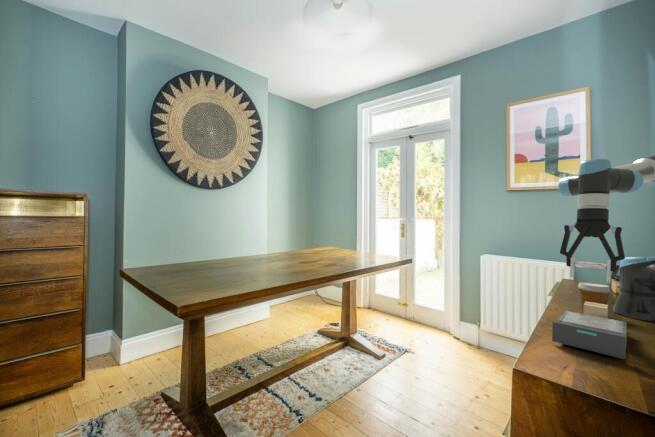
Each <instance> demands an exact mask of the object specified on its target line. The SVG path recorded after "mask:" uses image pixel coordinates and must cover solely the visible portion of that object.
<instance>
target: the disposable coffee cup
mask: <svg viewBox="0 0 655 437" xmlns="http://www.w3.org/2000/svg"><path fill="white" fill-rule="evenodd" d="M577 288H578V290H579V297H580V304H581V310H582V311H581V312H582V314H584V303H585V301H586V302H592V303H598V304H605V305H608V301H609V296H610V295H609V294H610V293H611V291H612V289H611V288H610V286H609V285H607V284H603V283H597V282H591V281H580V282H579V283H578V285H577Z"/></svg>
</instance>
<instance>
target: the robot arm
mask: <svg viewBox="0 0 655 437" xmlns="http://www.w3.org/2000/svg"><path fill="white" fill-rule="evenodd" d="M611 163H612V162H611V160H610V159H607V158H593V159H586V160H583V161H581V162H580V163H579V168H578V173H577V174H576V175H569V176H564V177H562V178H561V179H560V180H559V182H558V184H557V185H558V191H559V193H560V194H561V195H563V196H566V197H568V196H569V197H575V196H577V205H576V206H577V207H578V208H577V210H576V222H575V223H574V224H571V225H569V224H566V225H563V226H564V227H563V228H564V234H563V239H562V241H561V247H560V251H559V254H560V255H562V256H565V257H566V263H565V264H566V266H567V267H569V269H570V270H569V271H570V272H569V278H575V271H576V270H575V269H576V267H574V261H576V256H573V255H574V253H575V252H576V250H577V249H578V248H579V246H580V244H581V243H582V241H583V240H584V239H585V238H591V237H592V238H598V239H599V240H600V242H601V244H602V246H603V248H604V250H605V252H606V254H607V255H608V258H609V259H610V260H609V259H608V260H606V264H607V270H606V279H605V280H606V281H605V282H606V283H611V276H612V274H611V273H612V272H613V273H615V272H616V271H617V262H618V261H619V267H618V268H619V294H618V296H617V298H616V300H615V303H614V304H613V309H612V310H613V313H615V312H616V313H615V314H617V313H618V314H617V315H620V314H621V315H620V316H623V315H624V316H623V317H626V318H631V319H636V320H640V321H641V320H642V321H646V320H647V321H648V322H654V321H655V256H625V255H626V254H625V251H624V244H623V241H622V236H621V233H622V231H623V228H622V227H621V226H613V225H611V224H610V223H609V222H610V221H609V218H610V215H609V214H610V213H609V211H610V210H609V209H608V207H610V194H611V193H613V194H614V193H620V194H626V193H627V194H629V193H634V192H637V191H638V190H639V189H640V188H642V186H643V184H649V183H653V182H655V154H654V155H651V156H648V157H644V158H640V159H639V158H638V159H637V160H635V161H634V162H633V163H627V164H623V165H618V166H614V167H612V164H611ZM574 229H576V231H578V233H579V234H578V235H577V237H576V239H575V240H574V242H573V244H572V245H571V247H570V248H569V249H568V245H569V242H570V237H571V233H572V232H573V231H574ZM609 230H611V233H612V234H614V239H615V244H616V245H615V246H616V250H617V256H616V255H615V253H614V251H613V249H612V248H611V246H610V244H609V241H608V240H607V238H606V236H605V234H606V233H607V232H608V231H609ZM567 249H568V251H567Z"/></svg>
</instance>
